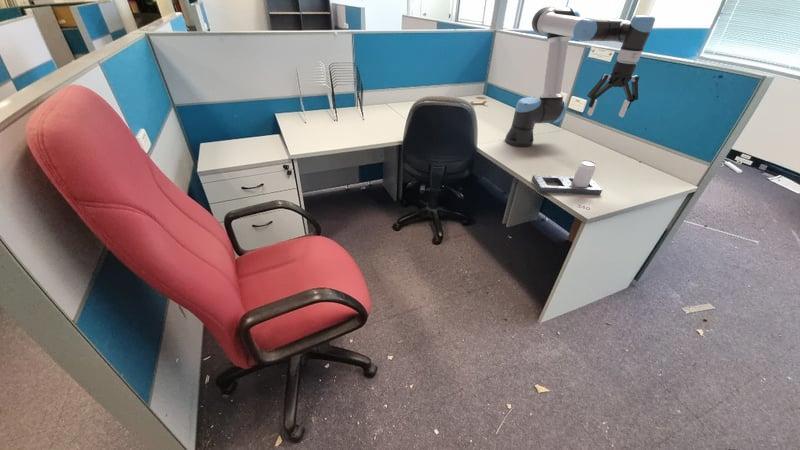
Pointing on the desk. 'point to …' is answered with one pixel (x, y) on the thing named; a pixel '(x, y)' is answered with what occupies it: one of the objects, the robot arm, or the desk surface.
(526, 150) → the desk surface
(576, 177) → the can
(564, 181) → the holder
